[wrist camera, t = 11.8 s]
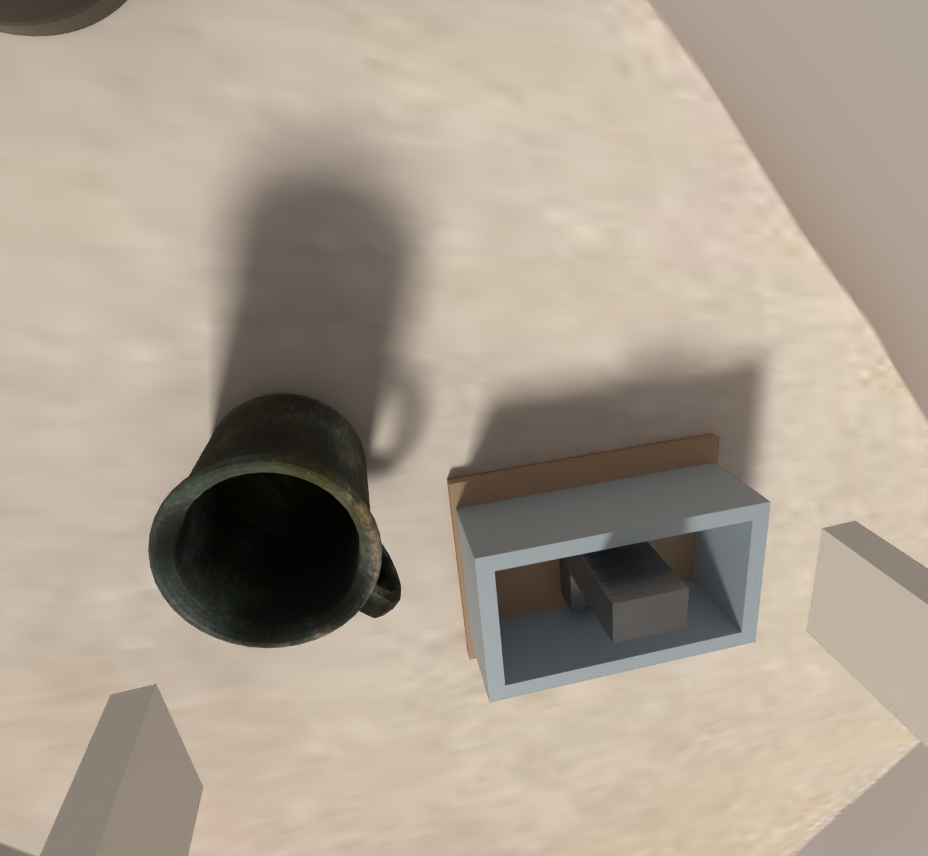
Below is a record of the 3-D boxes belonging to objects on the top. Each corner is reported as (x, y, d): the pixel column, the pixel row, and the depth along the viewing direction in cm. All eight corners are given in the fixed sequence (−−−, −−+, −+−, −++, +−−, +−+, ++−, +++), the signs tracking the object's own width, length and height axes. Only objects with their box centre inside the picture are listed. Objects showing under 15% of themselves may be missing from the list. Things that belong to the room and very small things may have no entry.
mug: (276, 349, 37) (248, 410, 26) (437, 484, 43) (470, 581, 32) (166, 468, 39) (96, 573, 28) (336, 584, 44) (334, 710, 33)
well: (447, 479, 43) (466, 531, 36) (713, 433, 46) (777, 473, 39) (467, 652, 49) (487, 725, 42) (702, 602, 52) (756, 662, 45)
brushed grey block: (557, 522, 45) (612, 604, 36) (619, 511, 46) (688, 587, 37) (560, 592, 47) (613, 686, 38) (619, 580, 48) (684, 669, 39)
